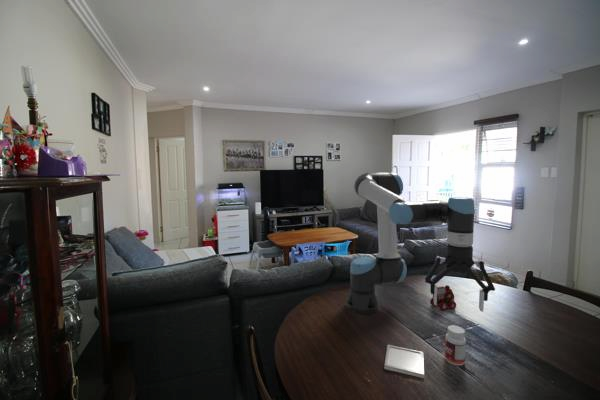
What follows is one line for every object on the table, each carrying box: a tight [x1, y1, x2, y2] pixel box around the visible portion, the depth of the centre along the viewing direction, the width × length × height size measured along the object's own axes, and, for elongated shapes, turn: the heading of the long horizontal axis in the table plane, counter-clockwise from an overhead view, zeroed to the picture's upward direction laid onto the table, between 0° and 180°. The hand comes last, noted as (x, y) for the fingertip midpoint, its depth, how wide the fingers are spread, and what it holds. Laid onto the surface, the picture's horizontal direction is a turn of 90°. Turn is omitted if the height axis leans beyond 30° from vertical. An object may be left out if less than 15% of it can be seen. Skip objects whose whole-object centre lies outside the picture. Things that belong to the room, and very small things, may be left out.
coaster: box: [383, 344, 425, 379], centre depth 96 cm, size 12×12×1 cm
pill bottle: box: [444, 324, 467, 367], centre depth 96 cm, size 6×6×11 cm
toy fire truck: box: [429, 284, 457, 312], centre depth 134 cm, size 7×12×10 cm, turn 108°
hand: (457, 306), depth 94 cm, fingers open, 13 cm apart
